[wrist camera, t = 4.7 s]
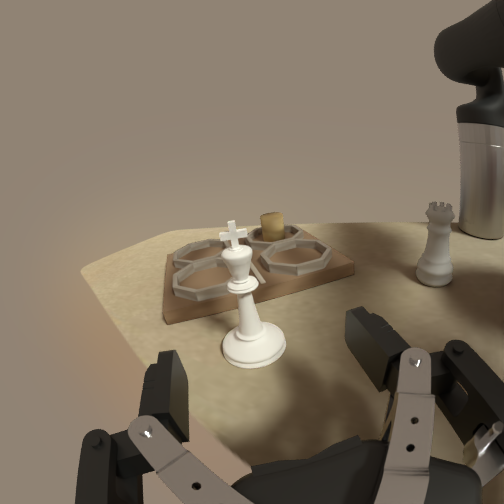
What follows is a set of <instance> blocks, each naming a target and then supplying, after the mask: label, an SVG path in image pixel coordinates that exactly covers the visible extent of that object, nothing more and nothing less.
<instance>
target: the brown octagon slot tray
mask: <svg viewBox="0 0 504 504" xmlns="http://www.w3.org/2000/svg"><path fill="white" fill-rule="evenodd" d="M260 219H261V226H262V227H261V228H256V229H254V230H253V231H251V232H250V233H248V234H247V235H248V237H243V238H238V243H239V245H246V246H249V247H250V248H251V249H252V259H251V263H250V271H249V276H253V277H255V278H256V279H257V281H258V283H259V284H258V287H257V288H256V289H255V290H253V291H251V293H252V296H253V300H254V303H259V302H263V301H266V300H270V299H273V298H277V297H281V296H284V295H288V294H291V293H294V292H298V291H301V290H305V289H308V288H311V287H315V286H318V285H321V284H325V283H328V282H331V281H334V280H337V279H340V278H344V277H347V276H350V275H353V274H354V261H352V260H351V259H349V258H348V257H346V256H344V255H343V254H341V253H340V252H338V251H336V250H335V249H333V248H332V247H330V246H329V245H327V244H325V243H324V242H322V241H320V240H319V239H317V238H316V237H314V236H312V235H311V234H309V233H307V232H306V231H304V230H302V229H301V228H299V227H297V226H296V225H284V223H283V215H282V213H279V212H273V213H267V214H263V215H261V216H260ZM231 246H232V244H231V240H228V241H227V240H226V241H221V240H220V239H207V240H203V241H198V242H194V243H190V244H187V245H185V246H184V247H182V248H180V249H178V250H177V251H175V252H174V253H172V254H168V255H167V263H166V274H165V287H164V301H163V314H164V317H165V319H166V322H167V325H169V324H174V323H178V322H183V321H187V320H191V319H196V318H200V317H204V316H208V315H212V314H216V313H220V312H224V311H228V310H232V309H236V308H238V299H237V294H233V293H231V292H229V291H228V290H227V284H228V282H229V281H230V280H231V279H233V276H232V275H231V273H230V271H229V269H228V267H227V266H226V264H225V263H224V261H223V259H222V257H221V254H222V252H223V251H224V250H225V249H227V248H229V247H231Z"/></svg>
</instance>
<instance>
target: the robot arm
mask: <svg viewBox="0 0 504 504" xmlns="http://www.w3.org/2000/svg"><path fill="white" fill-rule="evenodd" d="M434 57H435V61H436V63H437V66H438V68H439V69H440V71H441V72H442V73H443V74H444V75H445V76H446V77H447V78H449V79H451V80H453V81H455V82H458V83H464V84H469V85H474V86H476V94H477V95H476V99H475V100H474V101H473V102H470V103H467V104H463V105H460V106H458V107H457V110H456V114H457V122H458V133H459V141H460V142H459V145H460V166H461V189H460V190H461V191H460V212H459V228H460V229H461V230H463V231H464V232H466V233H468V234H471V235H473V236H477V237H481V238H486V239H499V238H502V237H503V236H504V81H503V75H502V70H501V68H504V0H492V1H490V2H489V3H488V4H486V5H485V6H483V7H482V8H480V9H479V10H477V11H476V12H474V13H473V14H472V15H470V16H469V17H467V18H466V19H464V20H462V21H460V22H458V23H456V24H454V25H452V26H450V27H448V28H446V29H444V30H443V31H442V32H440V33H439V35H438V37H437V39H436V41H435V45H434ZM345 341H346V344H347V346H348V348H349V349H350V351H351V352H352V354H353V355H354V356H355V358H356V359H357V361H358V362H359V364H360V365H361V366H362V368H363V369H364V371H365V372H366V374H367V375H368V377H369V378H370V380H371V381H372V382H373V384H374V385H375V387H376V388H377V390H378V391H379V393H380V392H382V391H384V390H386V389H388V391H389V392H390V394H389V397H388V403H387V408H386V413H385V418H384V423H383V427H382V431H381V434H380V437H379V440H360V438H359V436H358V435H357V436H354V437H352V438H349V439H347V440H344V441H341V442H339V443H336V444H333V445H332V446H330V447H328V448H327V449H325V450H323V451H322V452H320V453H318V454H317V455H315V456H313V457H311V458H309V459H302V460H283V461H275V462H271V463H266V464H261V465H256V466H251V469H252V473H250V474H247V475H246V476H244V477H242V478H240V479H239V480H237V481H236V482H235V483H234V484H233V485H232V486H229V485H228V484H227V483H225V482H224V481H223V480H222V479H220V478H219V477H218V476H217V475H216V474H214V473H213V472H212V471H211V470H210V469H209V468H207V467H206V466H205V465H204V464H203V463H201V461H200V460H198V459H197V458H196V457H195V456H194V455H193V454H192V453H191V452H189V451H187V450H186V449H185V448H184V447H183V446H182V442H189V409H188V379H187V375H186V372H185V370H184V367H183V365H182V363H181V361H180V358H179V356H178V354H177V352H176V350H170V351H163V352H159V354H158V361H157V364H151V365H150V366H149V368H148V369H147V371H146V373H145V377H144V383H143V390H142V395H141V402H140V408H139V415H138V418H136V419H134V420H133V421H132V422H131V423H130V425H129V428H128V429H127V430H125V431H122V432H119V433H115V434H112V435H109V434H108V433H107V432H106V431H104V430H101V429H96V430H92V431H90V432H89V433H87V434H86V436H85V437H84V439H83V442H82V448H81V455H80V461H79V468H78V477H77V486H76V498H75V504H143V484H142V483H143V482H142V474H145V473H148V472H152V471H155V470H156V474H157V475H158V476H159V478H160V479H161V480H162V481H163V482H164V483H165V484H166V485H167V486H168V488H169V489H170V490H171V491H172V492H173V493H174V494H175V495H176V496H177V497H178V498H179V499H180V500H181V501H182V502H183V503H184V504H482V487H483V486H484V485H485V484H487V483H488V482H489V481H490V480H491V479H492V478H494V477H495V476H496V475H498V474H499V473H500V472H502V471H503V470H504V383H503V382H502V380H501V379H500V378H499V377H498V376H497V375H496V374H495V373H494V372H493V370H492V369H491V368H490V367H489V366H488V365H487V364H486V363H485V362H484V361H483V360H482V359H481V358H480V357H479V355H478V354H477V353H476V352H475V351H474V350H473V349H472V348H471V347H470V346H469V345H468V344H467V343H465V342H463V341H461V340H451V341H449V342H448V343H447V344H446V346H445V348H444V351H440V352H435V353H429V354H428V352H426V351H425V350H423V349H421V348H411V347H410V346H409V345H408V344H407V342H406V341H405V340H404V339H403V338H402V337H401V336H400V335H399V334H398V333H397V332H396V331H395V330H393V328H392V327H391V326H390V325H389V324H388V323H387V322H386V321H385V320H384V319H383V318H382V317H380V316H378V315H376V314H374V313H372V314H369V313H368V312H367V311H366V309H365V308H364V307H362V306H361V307H357V308H354V309H351V310H348V311H347V312H346V323H345ZM458 381H459V383H460V384H461V385H462V386H463V387H464V389H465V390H466V391H467V393H468V395H467V394H466V393H465V392H464V390H463V389H462V388H461V387H460V385H459V384H458V383H457V382H458ZM435 402H436V404H437V405H438V407H439V408H440V410H441V411H442V413H443V414H444V415H445V417H446V418H447V420H448V421H449V423H450V424H451V426H452V427H453V429H454V430H455V432H456V433H457V435H458V437H459V438H460V440H461V441H462V443H463V444H464V449H463V463H464V464H466V465H462V464H457V463H453V462H449V461H446V460H442V459H438V458H435V457H431V456H430V453H431V446H432V437H433V426H434V412H435Z"/></svg>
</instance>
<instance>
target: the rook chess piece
mask: <svg viewBox="0 0 504 504" xmlns="http://www.w3.org/2000/svg"><path fill="white" fill-rule="evenodd" d="M426 215H427V217H428V218H429V225H428V226H427V229H428V239H427V244H426V248H425V251H424V253H423V254H422V257H421V258H420V259H419V261H418V263H417V267H418V268H417V270H416V276H417V278H418V280H419V281H420V282H421V283H423V284H425V285H427V286H431V287H442V286H445V285H447V284H448V283H449V282H450V281H451V280H452V274H451V273H452V272H453V265H452V263H451V258H450V254H449V236H450V233H451V232H452V230H451V228H450V223H451V221H452V220H453V219H454V217H455V215H454V213H453V211H452V206H451V205H450V204H446V207H444V202H440V206H437V202H432V203H429V209H428V210H427V211H426Z"/></svg>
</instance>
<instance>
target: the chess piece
mask: <svg viewBox="0 0 504 504" xmlns="http://www.w3.org/2000/svg"><path fill="white" fill-rule="evenodd" d="M228 227H229V231H226V232H220V234H219V235H220V240H221V241H226V240H231V244H232V246H231V247H229V248H227V249H225V250H224V251H223V252H222V254H221V257H222V259H223V261H224V263H225V264H226V266H227V267H228V269H229V271H230V273H231V275H232V276H233V279H231V280H230V281H229V282H228V284H227V290H228V291H229V292H231V293H233V294H237V299H238V310H239V326H237V327H235V328H234V329H232V330H231V331H230V332H229V333H228V334H227V335H226V336H225V338H224V340H223V354H224V357H225V358H226V360H227V361H228V362H230V363H231V364H233V365H235V366H237V367H240V368H247V369H252V368H260V367H264V366H267V365H269V364H271V363H273V362H275V361H276V360H277V359H278V358H280V357H281V355H282V354H283V353H284V351H285V348H286V340H285V338H284V334H283V332H282V330H281V329H280V328H279V327H277V326H276V325H274V324H271V323H268V322H261V321H260V319H259V316H258V313H257V310H256V307H255V303H254V300H253V296H252V293H251V291H253V290H255V289H256V288H257V287H258V284H259V283H258V281H257V279H256V278H255V277H253V276H249V271H250V263H251V259H252V249H251V248H250V247H249V246H246V245H239V243H238V238H243V237H248V235H247V229H246V228H244V229H238V230H236V225H235V221H234V220H233V221H228Z"/></svg>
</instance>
